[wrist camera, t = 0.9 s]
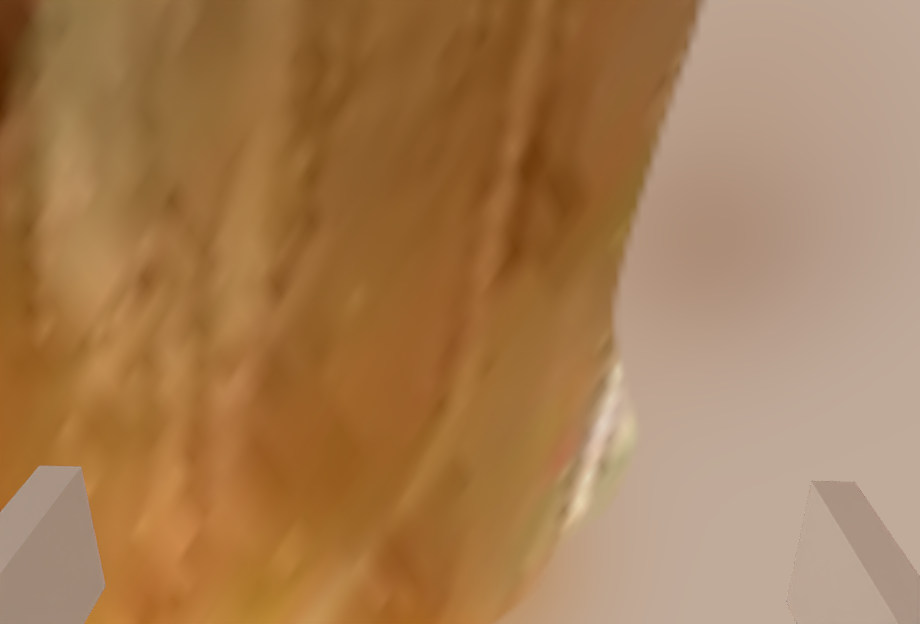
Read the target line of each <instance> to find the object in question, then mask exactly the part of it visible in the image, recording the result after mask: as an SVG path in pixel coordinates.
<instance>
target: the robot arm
mask: <svg viewBox="0 0 920 624" xmlns="http://www.w3.org/2000/svg"><path fill="white" fill-rule="evenodd" d="M104 588H105V581H104V576H103V571H102V566H101V561H100V556H99V552H98V547H97V542H96V537H95V532H94V527H93V522H92V517H91V512H90V507H89V502H88V497H87V492H86V487H85V483H84V478H83V473H82V468H81V467H74V466H39V467H38V468H37V469H36V470H35V472H34V473H33V474H32V475H31V476H30V478H29V479H28V480H27V481H26V482H25V483H24V485H23V486H22V487H21V488H20V489H19V491H18V492H17V493H16V494H15V495H14V497H13V498H12V499H11V500H10V501H9V503H8V504H7V505H6V506H5V507H4V509H3V510H2V511H1V512H0V624H84V623H85V621H86V619H87V617H88V616H89V614H90V612H91V611H92V609H93V607H94V605H95V604H96V602H97V600H98V599H99V597H100V595H101V593H102V592H103V590H104ZM786 602H787V604H788V606H789V608H790V610H791V613H792V615H793V617H794V619H795V621H796V624H920V576H919V574H918V573H917V572H916V570H915V569H914V567H913V566H912V564H911V563H910V561H909V560H908V559H907V557H906V556H905V554H904V553H903V551H902V550H901V548H900V547H899V545H898V544H897V543H896V541H895V540H894V538H893V537H892V535H891V534H890V533H889V531H888V530H887V528H886V527H885V525H884V524H883V522H882V521H881V520H880V518H879V517H878V515H877V514H876V512H875V511H874V509H873V508H872V506H871V505H870V504H869V502H868V501H867V499H866V498H865V496H864V495H863V493H862V492H861V490H860V489H859V487H858V486H857V485H856V483H855V482H829V481H812V482H811V486H810V490H809V495H808V500H807V505H806V510H805V514H804V520H803V524H802V529H801V534H800V538H799V543H798V548H797V553H796V558H795V563H794V567H793V572H792V577H791V582H790V586H789V591H788V596H787V601H786Z"/></svg>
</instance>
